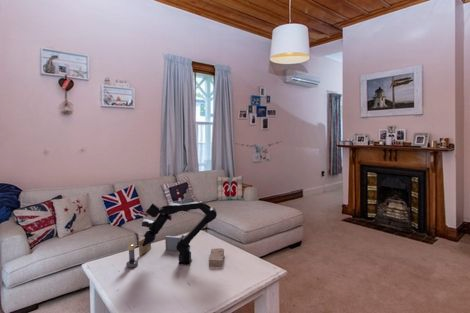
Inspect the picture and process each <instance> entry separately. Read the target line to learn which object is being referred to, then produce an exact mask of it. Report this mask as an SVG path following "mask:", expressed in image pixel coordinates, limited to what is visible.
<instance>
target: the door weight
mask: <svg viewBox="0 0 470 313" xmlns="http://www.w3.org/2000/svg"><path fill="white" fill-rule="evenodd" d="M127 249H128V259H129V260H128V261H126V264H125V266H126V268H127V269H134V268H138V266H139V261H138V260H136V258H135V244H132V243H131V244H129V245H128V247H127Z"/></svg>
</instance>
